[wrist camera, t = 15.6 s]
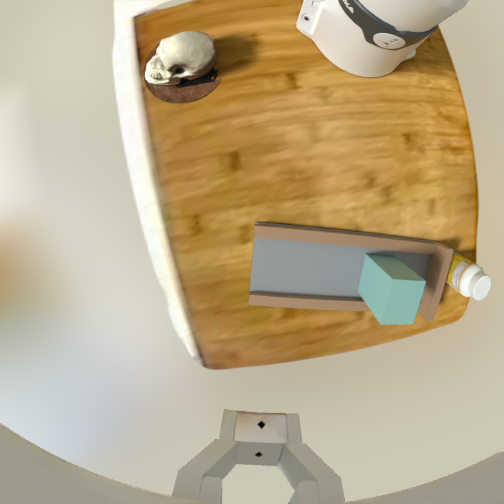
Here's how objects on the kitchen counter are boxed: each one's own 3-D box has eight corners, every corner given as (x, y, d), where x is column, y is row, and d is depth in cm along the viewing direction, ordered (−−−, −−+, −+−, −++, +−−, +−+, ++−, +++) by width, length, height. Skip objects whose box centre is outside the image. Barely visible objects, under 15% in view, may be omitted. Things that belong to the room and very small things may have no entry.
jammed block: (365, 253, 40) (392, 279, 30) (394, 256, 40) (426, 281, 30) (357, 291, 41) (380, 324, 32) (385, 292, 41) (412, 324, 32)
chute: (255, 222, 39) (254, 228, 35) (438, 242, 39) (453, 249, 35) (248, 300, 43) (247, 315, 39) (421, 308, 43) (433, 320, 38)
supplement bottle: (433, 268, 40) (465, 291, 31) (452, 245, 39) (487, 263, 30) (446, 286, 41) (476, 311, 32) (464, 265, 40) (497, 285, 31)
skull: (145, 117, 34) (118, 59, 25) (159, 81, 39) (140, 32, 30) (230, 100, 33) (214, 33, 24) (231, 67, 38) (220, 12, 29)
